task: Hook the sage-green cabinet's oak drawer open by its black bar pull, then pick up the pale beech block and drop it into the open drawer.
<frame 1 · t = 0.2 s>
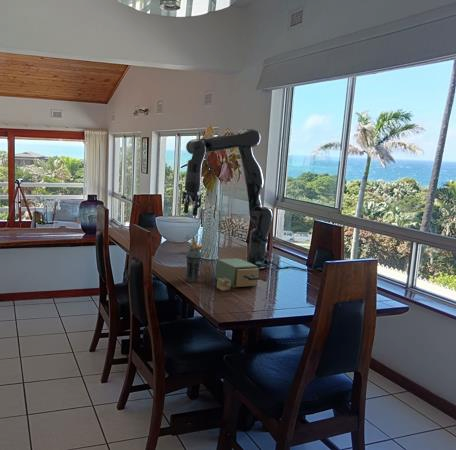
hand: (190, 214, 225), 29 cm above the table, tool pointing down, fingers open, 8 cm apart
drawer: (242, 275, 212), point 5 cm above the table, slide at 1.0 cm
magic lamp: (198, 253, 274), on the table
block: (223, 288, 205), on the table
cabinet: (234, 282, 217), on the table
beverage cup: (191, 281, 213), on the table
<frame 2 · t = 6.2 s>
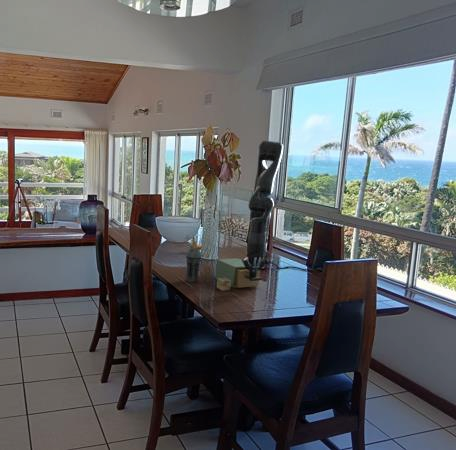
hand: (252, 279, 205), 5 cm above the table, tool pointing down, fingers closed
drawer: (243, 275, 211), point 5 cm above the table, slide at 2.0 cm, touching gripper
everything else where it was.
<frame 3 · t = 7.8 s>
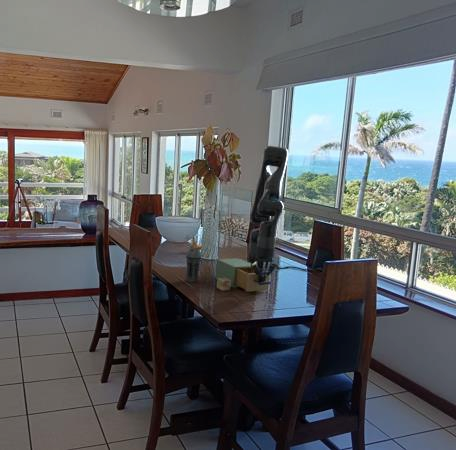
hand: (261, 284, 200), 5 cm above the table, tool pointing down, fingers closed
drawer: (251, 279, 205), point 5 cm above the table, slide at 8.0 cm, touching gripper
everything else where it was.
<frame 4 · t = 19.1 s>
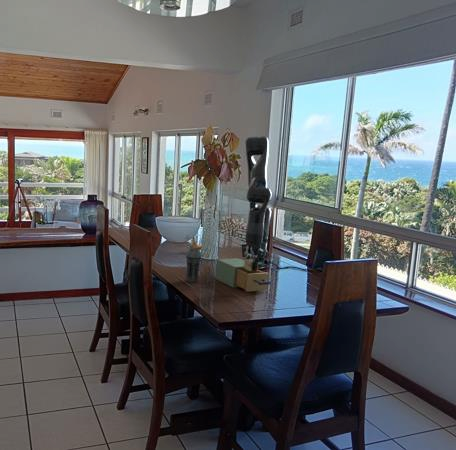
hand: (250, 268, 206), 9 cm above the table, tool pointing down, fingers closed on block, 4 cm apart
drawer: (251, 279, 205), point 5 cm above the table, slide at 8.0 cm
block: (250, 269, 206), point 9 cm above the table, touching gripper
everything else where it was.
when the fingers open (11 cm above the table, at t = 29.2 s): block drops 8 cm, resting on drawer.
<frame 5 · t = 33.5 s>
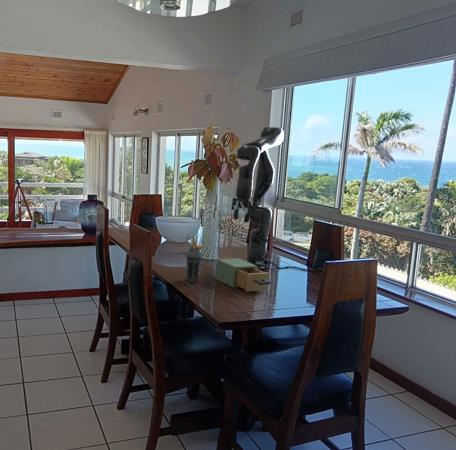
hand: (240, 220, 222), 28 cm above the table, tool pointing down, fingers open, 8 cm apart
drawer: (251, 279, 205), point 5 cm above the table, slide at 8.1 cm, touching block
block: (248, 284, 207), point 2 cm above the table, touching drawer
everything else where it was.
at the end: drawer slide at 8.1 cm; block inside the target area in the drawer (0.0 cm from its centre), point 2.0 cm above the cabinet's base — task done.
